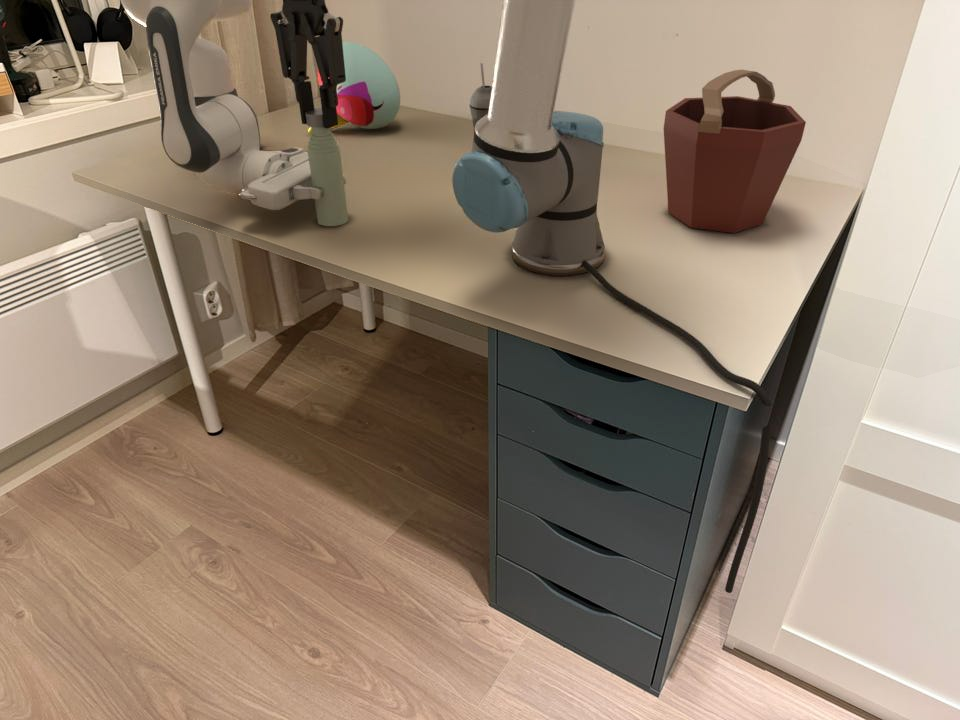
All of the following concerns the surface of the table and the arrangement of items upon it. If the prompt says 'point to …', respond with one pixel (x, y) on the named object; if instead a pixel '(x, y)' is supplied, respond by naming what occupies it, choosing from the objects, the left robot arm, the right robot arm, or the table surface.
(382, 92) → the toy
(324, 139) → the bottle
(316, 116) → the cap
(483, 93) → the beverage cup
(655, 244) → the table surface
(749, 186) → the bucket
